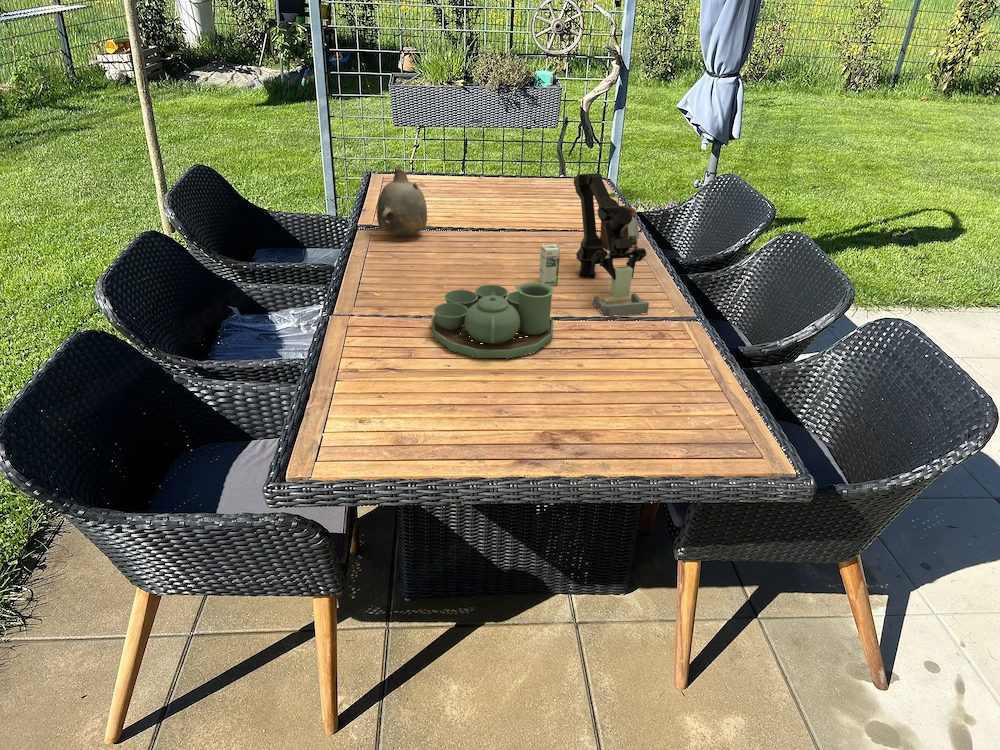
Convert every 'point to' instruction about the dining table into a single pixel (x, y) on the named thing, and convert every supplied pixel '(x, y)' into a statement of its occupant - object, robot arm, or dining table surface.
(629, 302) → the frame
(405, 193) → the jug
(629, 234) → the potted plant
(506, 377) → the dining table surface
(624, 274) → the green block
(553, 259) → the syrup box
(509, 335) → the tea set
